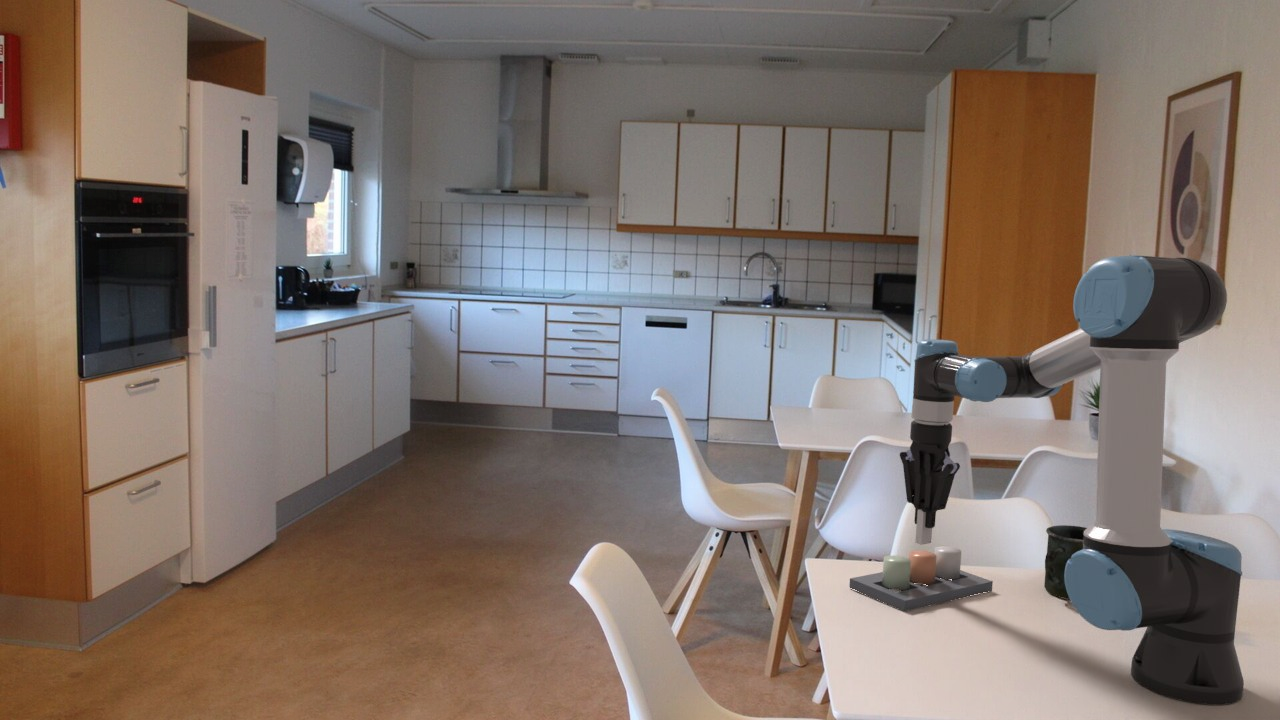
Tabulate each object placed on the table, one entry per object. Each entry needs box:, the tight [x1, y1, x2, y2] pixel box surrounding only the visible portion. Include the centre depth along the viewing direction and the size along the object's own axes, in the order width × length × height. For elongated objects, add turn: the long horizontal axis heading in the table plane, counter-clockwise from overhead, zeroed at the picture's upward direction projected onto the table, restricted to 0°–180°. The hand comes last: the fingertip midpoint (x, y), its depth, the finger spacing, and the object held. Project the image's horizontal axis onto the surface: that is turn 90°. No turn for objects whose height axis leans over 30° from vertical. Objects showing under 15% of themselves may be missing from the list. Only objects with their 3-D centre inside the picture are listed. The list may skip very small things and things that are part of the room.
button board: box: [849, 569, 994, 612], centre depth 196 cm, size 14×24×2 cm, turn 122°
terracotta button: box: [909, 550, 937, 585], centre depth 196 cm, size 5×5×5 cm
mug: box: [1043, 524, 1088, 600], centre depth 196 cm, size 11×15×12 cm
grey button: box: [934, 545, 962, 580], centre depth 199 cm, size 5×5×5 cm
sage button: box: [882, 555, 911, 591], centre depth 192 cm, size 5×5×5 cm
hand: (923, 542), depth 195 cm, fingers closed
